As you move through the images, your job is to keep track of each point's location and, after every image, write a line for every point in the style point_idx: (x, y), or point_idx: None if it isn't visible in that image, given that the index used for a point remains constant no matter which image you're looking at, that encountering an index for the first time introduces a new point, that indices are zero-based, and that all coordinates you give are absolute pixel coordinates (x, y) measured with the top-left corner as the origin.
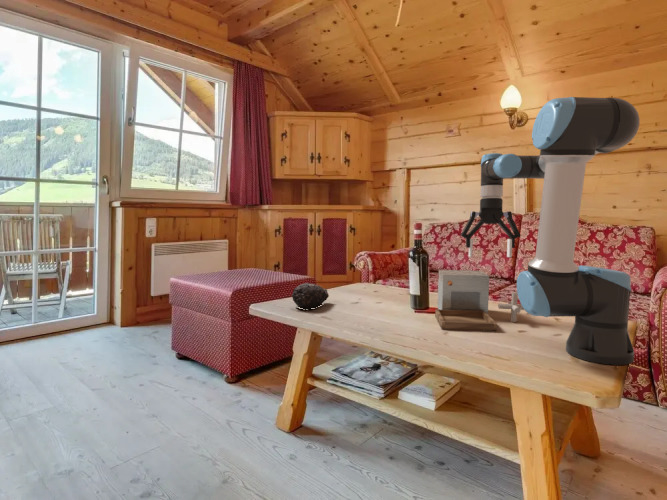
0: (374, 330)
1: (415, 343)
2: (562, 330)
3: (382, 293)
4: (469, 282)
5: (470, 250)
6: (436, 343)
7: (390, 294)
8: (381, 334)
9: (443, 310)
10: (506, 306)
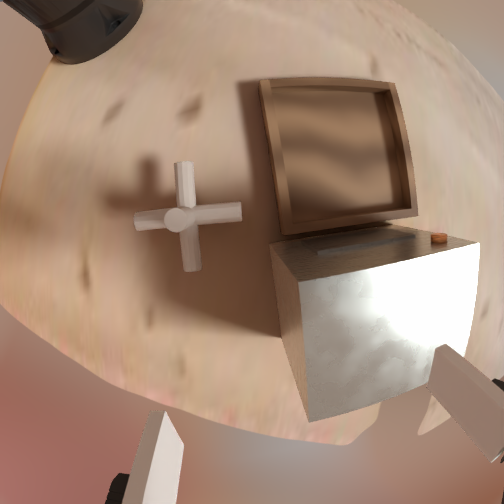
0: (472, 88)
1: (404, 19)
2: (91, 158)
3: None
4: (377, 254)
5: (473, 366)
6: (376, 15)
7: None
8: (458, 66)
9: (400, 209)
10: (215, 204)
